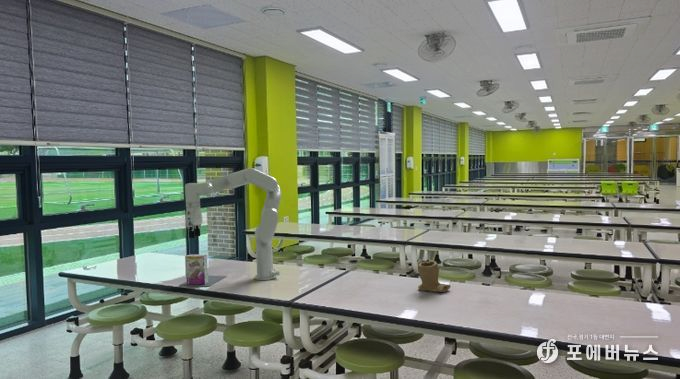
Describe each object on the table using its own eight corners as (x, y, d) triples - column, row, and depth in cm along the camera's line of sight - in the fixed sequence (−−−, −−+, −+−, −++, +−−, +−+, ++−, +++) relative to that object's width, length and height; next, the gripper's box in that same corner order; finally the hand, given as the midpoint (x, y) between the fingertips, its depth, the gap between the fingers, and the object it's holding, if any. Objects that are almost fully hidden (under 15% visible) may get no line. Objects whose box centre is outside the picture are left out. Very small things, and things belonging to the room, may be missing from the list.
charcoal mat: (226, 276, 271) (226, 275, 271) (208, 286, 250) (208, 286, 250) (199, 276, 275) (199, 275, 275) (179, 286, 254) (179, 285, 254)
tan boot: (413, 292, 228) (413, 262, 227) (423, 286, 238) (422, 258, 237) (442, 296, 219) (442, 265, 218) (451, 289, 229) (450, 260, 228)
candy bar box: (186, 284, 254) (184, 256, 253) (190, 282, 259) (188, 254, 258) (205, 285, 252) (203, 256, 251) (208, 282, 257) (207, 254, 256)
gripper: (191, 206, 243) (192, 239, 245) (206, 203, 260) (208, 234, 261) (178, 206, 245) (180, 239, 246) (195, 203, 262) (196, 234, 263)
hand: (194, 236), depth 254 cm, fingers open, 5 cm apart
